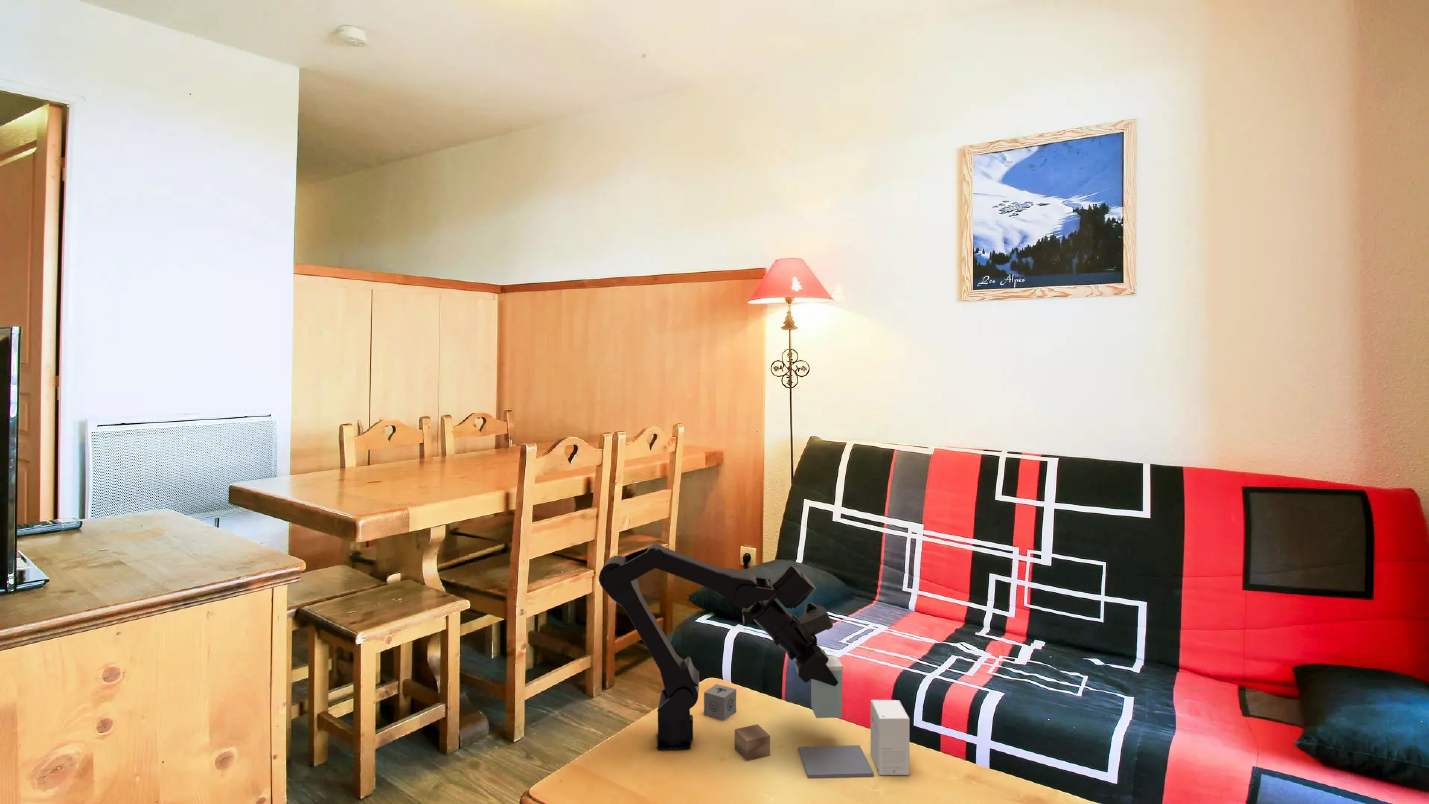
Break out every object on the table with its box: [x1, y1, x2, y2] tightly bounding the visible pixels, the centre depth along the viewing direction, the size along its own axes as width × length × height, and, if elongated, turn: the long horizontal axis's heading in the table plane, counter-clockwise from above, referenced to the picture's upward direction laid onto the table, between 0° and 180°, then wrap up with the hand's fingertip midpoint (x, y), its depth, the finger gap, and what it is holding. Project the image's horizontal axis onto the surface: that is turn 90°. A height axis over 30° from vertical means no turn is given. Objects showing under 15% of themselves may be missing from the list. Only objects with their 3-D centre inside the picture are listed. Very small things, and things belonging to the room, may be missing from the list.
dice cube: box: [703, 683, 737, 722], centre depth 154 cm, size 5×5×5 cm
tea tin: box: [810, 655, 844, 719], centre depth 142 cm, size 5×5×10 cm
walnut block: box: [734, 723, 771, 762], centre depth 138 cm, size 5×5×4 cm
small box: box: [870, 699, 911, 776], centre depth 134 cm, size 8×6×10 cm
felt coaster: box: [797, 744, 875, 779], centre depth 134 cm, size 12×10×1 cm
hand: (833, 678), depth 142 cm, fingers closed on tea tin, 5 cm apart
